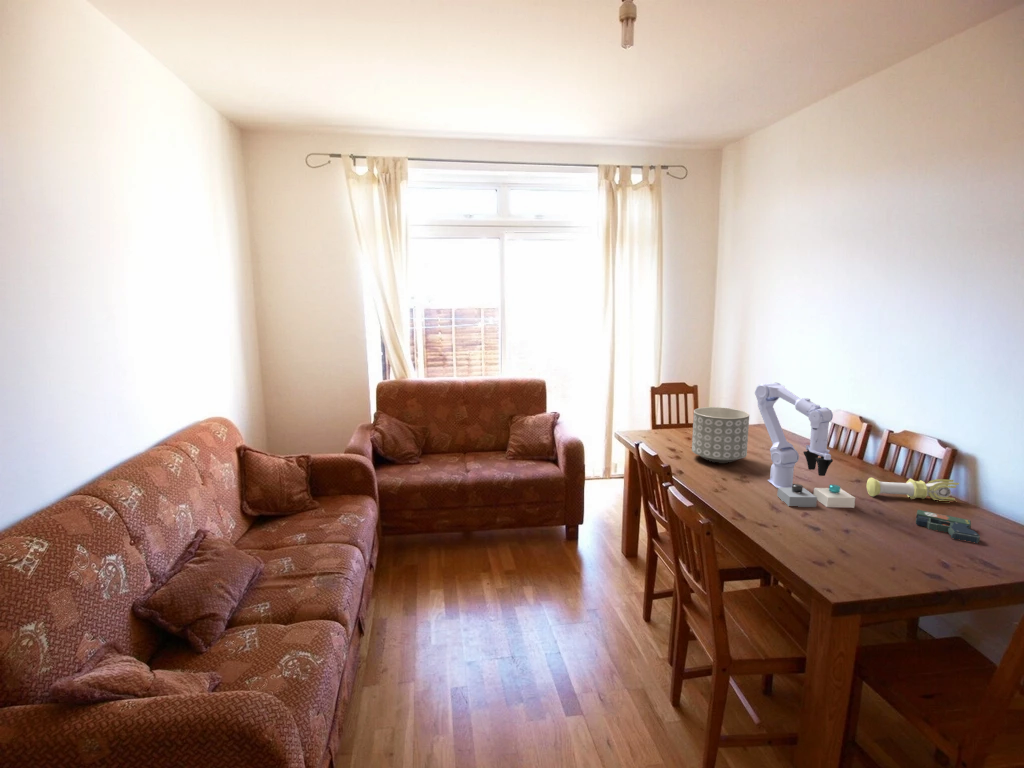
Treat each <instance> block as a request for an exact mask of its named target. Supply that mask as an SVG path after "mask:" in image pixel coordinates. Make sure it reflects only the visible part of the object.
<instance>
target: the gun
mask: <svg viewBox="0 0 1024 768" xmlns="http://www.w3.org/2000/svg"><path fill="white" fill-rule="evenodd" d="M916 510H917V511H916V517H915V524H916V526H918V525H920V526H919V527H923V526H925V527H924V528H926V529H927V528H928V529H927V530H930V529H932V530H931V531H934V530H938V531H937V532H940V531H944V532H943V533H945V532H948V533H947V534H949V536H950V535H951V536H950V538H951V539H952V538H954V539H953V540H955V539H960V540H966V541H971V542H975V543H974V544H976V543H977V544H979V543H980V539H981V536H980V534H979V533H978V532H977V531H975V530H973V529H971V527H972V521H971V520H970V519H967V518H962V517H957V516H952V515H946V514H943V513H942V514H941V513H937V512H936V513H935V512H932V511H928V510H927V511H926V510H922V509H916ZM960 540H959V541H960ZM971 542H970V543H971ZM978 542H979V543H978Z"/></svg>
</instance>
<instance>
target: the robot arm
mask: <svg viewBox="0 0 1024 768" xmlns="http://www.w3.org/2000/svg"><path fill="white" fill-rule="evenodd" d="M754 395H755V398H756V400H757V408H758V410H759V413H760V415H761V418H762V420H763V423H764V425H765V428H766V430H767V434H768V435H769V438H770V440H771V444H772V446H771V447H770V449H769V452H770V459H771V462H772V464H771V466H770V472H769V473H770V474H769V475H770V476H769V479H767V482H769V483H770V484H771V485H773V486H774V487H775V488H776V489H778V487H780V488H792V484H794V483H793V481H794V480H793V479H794V473H795V472H794V470H795V469H794V468H795V466H796V464H797V462H799V460H800V455H799V454H800V453H799V452H798V451H797V450H796V449H795V447H794V445H793V444H792V443H790V442H789V441H787V438H786V436H785V433H784V431H783V428H782V426H781V423H780V421H779V419H778V415H777V414H776V411H775V408H774V405H775V403H776V402H777V401H778V400H779V399H782V400H784V401H786V402H788V403H790V404H791V405H793V406H794V408H795V410H796V411H798V412H799V413H801V414H803V415H804V416H806V417H807V418H808V420H809V422H810V428H811V431H810V439H809V444H805V450H806V451H805V450H804V451H803V452H802V453H803V455H804V456H805V457H804V458H805V459H806V464H807V469H808V470H809V471H814V470H815V469H816V466H817V473H818V476H819V477H825V476H826V474H827V471H828V469H829V467H830V465H831V464H833V461H834V459H832V458H831V457H832V455H831V454H830V449H828V448H827V447H828V439H829V437H828V436H829V425H830V424H829V423H830V422H831V421H832V420H833V418H834V414H833V412H832V410H831V409H830V408H829V407H822V406H821V405H820V404H816V403H815V402H813V401H811V399H810V398H808V397H802V398H801V397H799V396H797V395H796V394H794V393H793V392H792V391H790V390H788V389H787V388H786V386H785V385H783V384H781V383H779V382H774V383H772V382H770V383H760V384H758V385H757V386H756V388H755V390H754Z"/></svg>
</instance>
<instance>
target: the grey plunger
mask: <svg viewBox="0 0 1024 768" xmlns="http://www.w3.org/2000/svg"><path fill="white" fill-rule="evenodd" d="M803 488H804V487H803V485H802V484H798V483H793V484H792V491H794V493H795V494H800V492H802V490H803Z"/></svg>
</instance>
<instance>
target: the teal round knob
mask: <svg viewBox="0 0 1024 768" xmlns="http://www.w3.org/2000/svg"><path fill="white" fill-rule="evenodd" d="M828 488H829V491H831V493H832V494H837V493H839V492H840V488H841V486H840V485H837V484H829V485H828Z"/></svg>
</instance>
